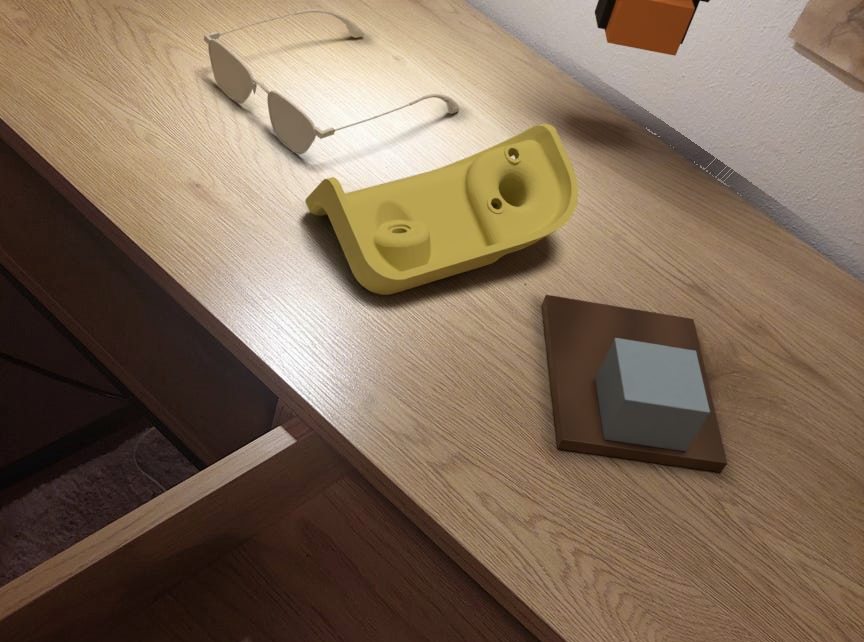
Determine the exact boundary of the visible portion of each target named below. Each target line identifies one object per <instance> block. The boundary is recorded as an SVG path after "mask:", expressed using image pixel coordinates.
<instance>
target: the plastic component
mask: <svg viewBox="0 0 864 642" xmlns="http://www.w3.org/2000/svg"><path fill="white" fill-rule="evenodd" d="M513 156H514V158H512V157H513ZM578 198H579V186H578V179H577V175H576V172H575V170H574V167H573V164H572V162H571V160H570V157H569V155H568V153H567V151H566V149H565V147H564V143H563V142H562V140H561V138H560V135H559V133H558V131H557V129H556V128H555V127H554V126H553V125H550V124H548V123H542V124H538V125H534V126H532V127H530V128H528V129H526V130H524V131H522V132H520V133H518V134H515V135H514V136H512V137H510V138H508V139H505V140H504V141H502V142H499V143H497V144H495V145H493V146H491V147H489V148H486V149H484V150H482V151H479V152H477V153H475V154H472V155H470V156H467V157H465V158H463V159H460V160H457V161H455V162H452V163H450V164H447V165H443V166H440V167H438V168H435V169H433V170H430V171H429V170H428V171H426V172H422V173H418V174H415V175H411V176H406V177H403V178H398V179H395V180H391V181H388V182H384V183H383V182H382V183H379V184H376V185H372V186H368V187H364V188H360V189H357V190H353V191H349V192H345V191H344V189H343V187H342V184H341V182H340V181H339V180H338V179H337V178H336V177H334V176H331V177H327V178H324V179H323V180H322V181H321V182H320V183H319V184H318V185H317V186H316V187H315V188H314V190H313V191H312V192H311V193H310V194H308V196H307V197H306V198H305V200H304V201H305V204H306V207H307V209H308V211H309V213H311V214H312V215H314V216H318V217H320V216H321V217H323V216H328V217H327V218H328V219H329V221H330V223H331V226H332V228H333V231H334V233H335V235H336V237H337V240H338V243H339V244H340V247H341V249H342V253H343V254H344V257H345V259H346V261H347V263H348V265H349V268H350V270H351V273H352V275H353V276H354V278H355V280H356V281H357V282H358V283H359V284H360V286H362V287H363V288H364V289H366V290H367V291H369V292H371V293H374V294H377V295H383V296H385V295H386V296H387V295H395V294H397V293H400V292H403V291H407V290H410V289H413V288H416V287H420V286H423V285H426V284H429V283H433V282H437V281H439V280H442V279H446V278H450V277H453V276H456V275H459V274H462V273H465V272H470V271H472V270H476V269H479V268H482V267H485V266H488V265H492V264H494V263H496V262H497V261H498V260H499V259H500V258H502V257H504V256H505V255H508V254H511V253H514V252H518V251H521V250H523V249H525V248H528V247H530V246H532V245H534V244H536V243H537V242H539V241H541V240H543V239H544V238H546V237H548V236H550V235H552V234H553V233H555V232H556V231H558V230H559V229H561V228H562V227H564V226H565V224H567V223H568V222H569V221H570V219H571V218H572V217H573V214H574V213H575V210H576V207H577V204H578Z"/></svg>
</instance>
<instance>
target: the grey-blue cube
mask: <svg viewBox="0 0 864 642" xmlns="http://www.w3.org/2000/svg"><path fill="white" fill-rule="evenodd" d="M595 381H596V388H597V394H598V401H599V408H600V415H601V422H602V429H603V435H604V439H605V440H610V441H617V442H624V443H631V444H638V445H645V446H651V447H658V448H665V449H672V450H679V451H686V450H687V449H688V447H689V445H690V444H691V442H692V441H693V439H694V437H695V436H696V434H697V433H698V431H699V429H700V428H701V426H702V425H703V423H704V421H705V420H706V418H707V416H708V415H709V413H710V409H709V405H708V401H707V396H706V392H705V388H704V383H703V379H702V375H701V370H700V366H699V362H698V357H697V353H696V351H695V350H688V349H682V348H676V347H670V346H664V345H657V344H651V343H645V342H639V341H632V340H626V339H620V338H615V339H614V341H613V343H612V345H611V347H610V349H609V351H608V353H607V355H606V357H605V359H604V361H603V363H602V366H601V368H600V370H599V372H598V374H597V376H596V378H595Z"/></svg>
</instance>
